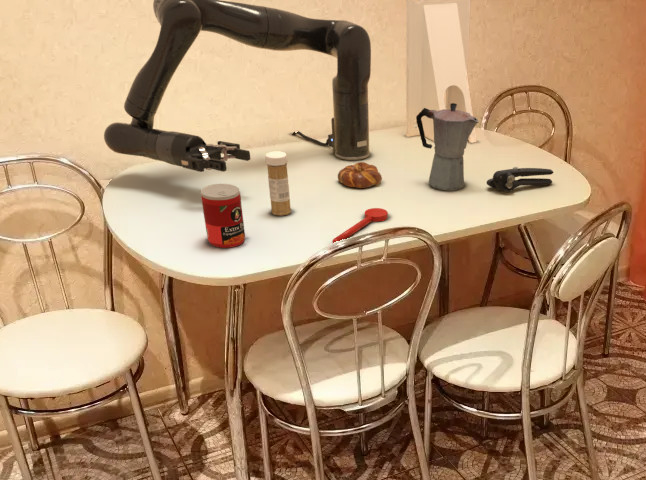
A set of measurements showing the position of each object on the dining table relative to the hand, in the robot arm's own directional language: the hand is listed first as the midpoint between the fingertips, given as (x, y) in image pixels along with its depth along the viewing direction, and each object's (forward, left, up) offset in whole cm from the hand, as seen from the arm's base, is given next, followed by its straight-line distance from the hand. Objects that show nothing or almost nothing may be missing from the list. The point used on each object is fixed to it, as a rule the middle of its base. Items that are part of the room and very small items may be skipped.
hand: (237, 161), depth 174 cm
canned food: (+14, -15, -10) cm, 23 cm away
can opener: (+40, +55, -10) cm, 69 cm away
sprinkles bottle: (+10, +3, -10) cm, 15 cm away
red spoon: (+30, +9, -10) cm, 32 cm away
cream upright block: (0, +74, -10) cm, 75 cm away
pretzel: (+8, +30, -10) cm, 33 cm away
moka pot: (+25, +43, -10) cm, 51 cm away
